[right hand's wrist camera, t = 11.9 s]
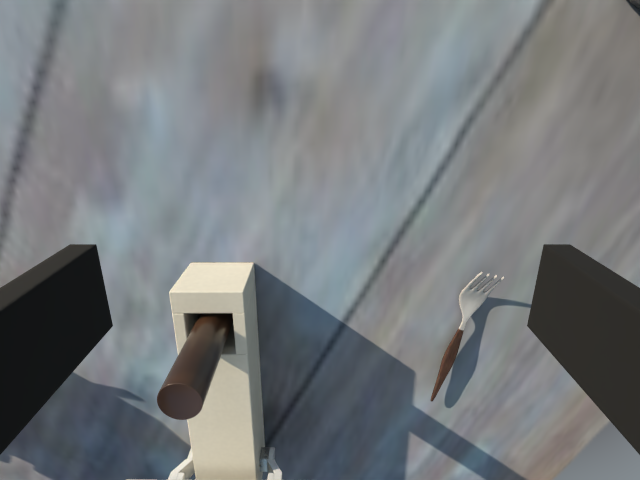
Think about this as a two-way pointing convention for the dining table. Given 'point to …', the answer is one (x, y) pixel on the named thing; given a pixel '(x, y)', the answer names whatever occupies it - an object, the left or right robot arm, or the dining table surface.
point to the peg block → (225, 371)
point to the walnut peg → (195, 367)
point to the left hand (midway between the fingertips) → (233, 451)
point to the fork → (463, 324)
